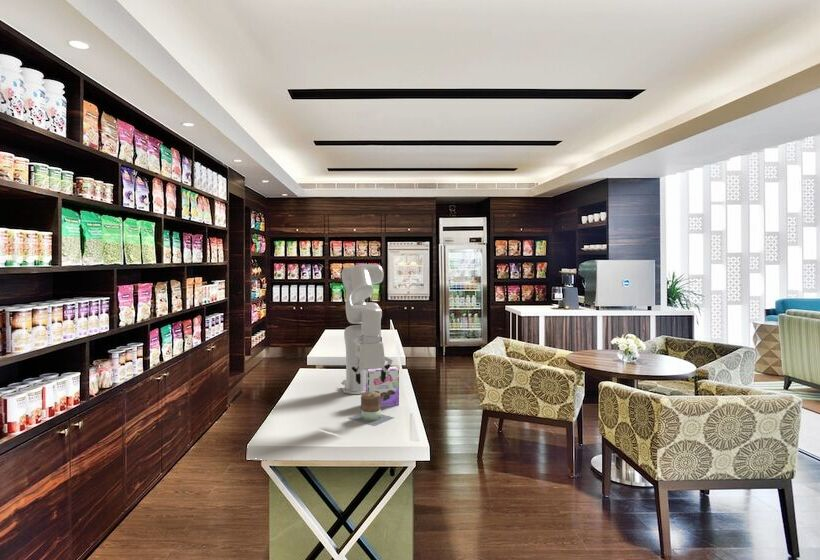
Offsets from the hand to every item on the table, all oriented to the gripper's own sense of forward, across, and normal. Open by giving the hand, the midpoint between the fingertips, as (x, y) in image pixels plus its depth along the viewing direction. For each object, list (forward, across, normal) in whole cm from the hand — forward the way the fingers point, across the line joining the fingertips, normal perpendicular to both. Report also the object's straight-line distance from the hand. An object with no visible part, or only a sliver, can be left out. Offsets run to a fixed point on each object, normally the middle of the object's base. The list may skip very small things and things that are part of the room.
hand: (370, 382), depth 183 cm
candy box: (+15, +8, +14) cm, 23 cm away
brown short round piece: (+10, 0, -1) cm, 11 cm away
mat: (+15, 0, -1) cm, 15 cm away
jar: (+14, 0, -1) cm, 14 cm away
